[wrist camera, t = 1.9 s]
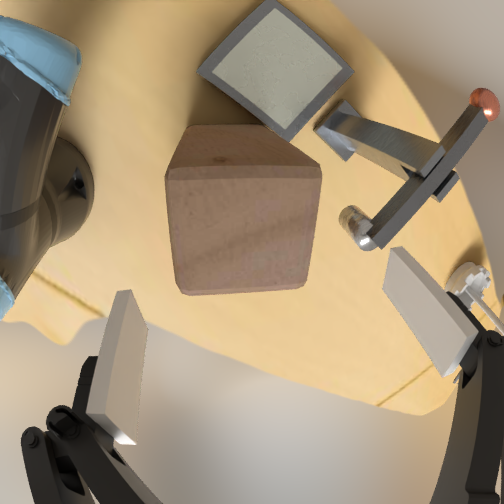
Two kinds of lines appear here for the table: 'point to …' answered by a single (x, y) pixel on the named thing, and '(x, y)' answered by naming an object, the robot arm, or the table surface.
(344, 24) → the table surface
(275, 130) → the press
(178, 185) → the wooden block
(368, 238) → the lever
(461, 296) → the flag stand
